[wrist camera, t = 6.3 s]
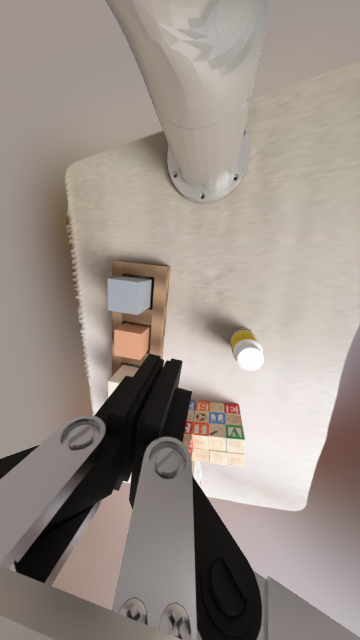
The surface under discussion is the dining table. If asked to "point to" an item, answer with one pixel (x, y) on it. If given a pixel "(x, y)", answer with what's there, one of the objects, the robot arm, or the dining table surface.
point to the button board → (148, 317)
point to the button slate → (129, 294)
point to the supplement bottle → (246, 349)
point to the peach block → (132, 340)
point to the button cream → (120, 377)
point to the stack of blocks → (215, 433)
